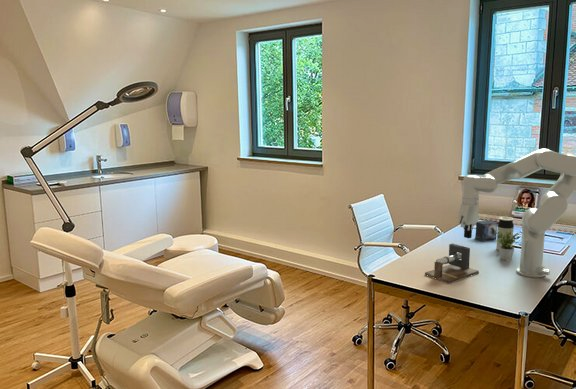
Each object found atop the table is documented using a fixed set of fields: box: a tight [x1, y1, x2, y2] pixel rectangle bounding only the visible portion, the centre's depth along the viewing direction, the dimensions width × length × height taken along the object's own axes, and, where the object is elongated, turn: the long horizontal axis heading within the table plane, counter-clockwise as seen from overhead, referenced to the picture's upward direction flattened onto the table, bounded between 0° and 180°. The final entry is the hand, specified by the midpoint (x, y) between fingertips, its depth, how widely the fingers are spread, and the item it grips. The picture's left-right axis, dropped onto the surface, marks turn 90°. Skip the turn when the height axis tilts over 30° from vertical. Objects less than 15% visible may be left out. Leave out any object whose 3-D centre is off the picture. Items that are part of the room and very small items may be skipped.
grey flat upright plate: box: [448, 243, 471, 269], centre depth 236 cm, size 10×2×10 cm, turn 34°
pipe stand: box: [424, 252, 480, 284], centre depth 234 cm, size 14×22×10 cm, turn 124°
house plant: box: [495, 229, 522, 261], centre depth 252 cm, size 14×14×16 cm
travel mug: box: [496, 216, 515, 252], centre depth 268 cm, size 8×8×18 cm
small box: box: [474, 219, 498, 242], centre depth 291 cm, size 11×6×10 cm, turn 105°
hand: (467, 237), depth 239 cm, fingers closed
